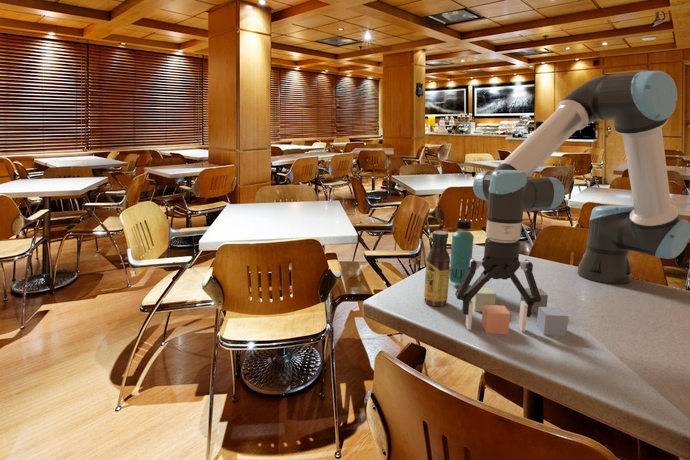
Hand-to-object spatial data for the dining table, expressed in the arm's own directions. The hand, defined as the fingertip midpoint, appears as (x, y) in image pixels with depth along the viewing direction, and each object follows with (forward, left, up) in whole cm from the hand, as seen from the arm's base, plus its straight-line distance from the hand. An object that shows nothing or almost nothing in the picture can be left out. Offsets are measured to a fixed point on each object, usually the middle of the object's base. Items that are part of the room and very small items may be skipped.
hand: (494, 328), depth 108 cm
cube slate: (-13, 0, 0) cm, 13 cm away
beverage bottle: (+3, -30, 0) cm, 30 cm away
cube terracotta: (0, 0, 0) cm, 0 cm away
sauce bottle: (+12, -15, 0) cm, 19 cm away
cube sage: (0, -13, 0) cm, 13 cm away
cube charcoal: (-13, -13, 0) cm, 18 cm away
